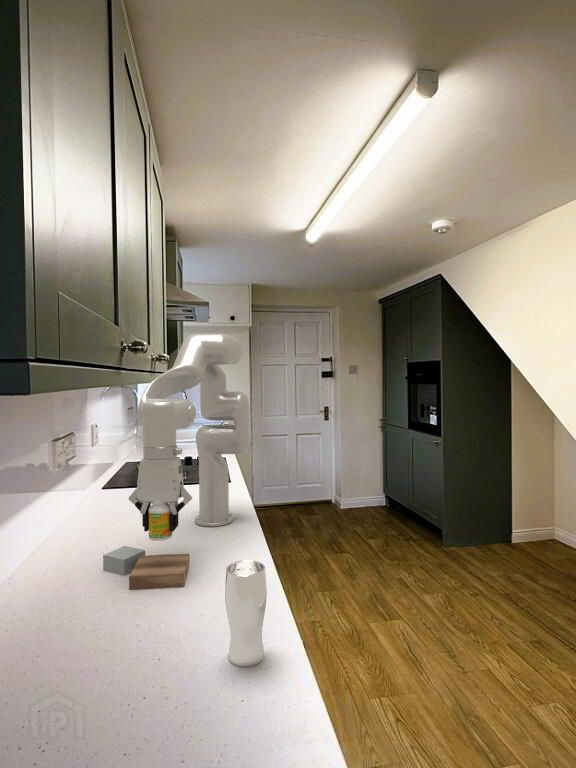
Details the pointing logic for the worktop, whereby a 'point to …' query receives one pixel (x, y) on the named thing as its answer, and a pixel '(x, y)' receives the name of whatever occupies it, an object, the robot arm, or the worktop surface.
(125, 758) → the worktop surface
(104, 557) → the slate block
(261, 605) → the beer glass
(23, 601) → the worktop surface
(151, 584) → the walnut block
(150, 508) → the supplement bottle
